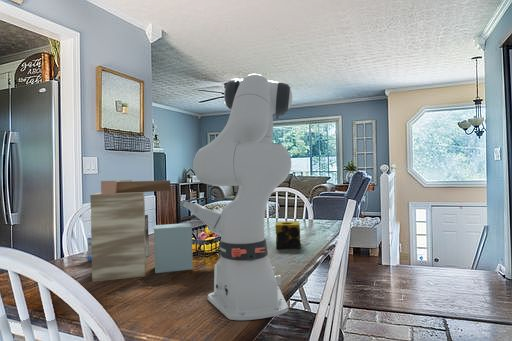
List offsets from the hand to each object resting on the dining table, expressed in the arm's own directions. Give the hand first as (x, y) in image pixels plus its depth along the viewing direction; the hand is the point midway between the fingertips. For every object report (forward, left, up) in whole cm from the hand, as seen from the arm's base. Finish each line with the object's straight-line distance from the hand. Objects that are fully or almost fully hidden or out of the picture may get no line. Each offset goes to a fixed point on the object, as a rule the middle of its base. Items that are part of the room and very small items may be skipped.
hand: (182, 202), depth 117 cm
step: (0, +4, -22) cm, 22 cm away
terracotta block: (-5, +23, +4) cm, 23 cm away
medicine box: (+21, +30, -22) cm, 43 cm away
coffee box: (+19, +17, -22) cm, 34 cm away
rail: (0, +14, +4) cm, 14 cm away
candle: (+16, -44, -22) cm, 52 cm away
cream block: (+4, +19, +4) cm, 20 cm away
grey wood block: (0, +20, -22) cm, 30 cm away
